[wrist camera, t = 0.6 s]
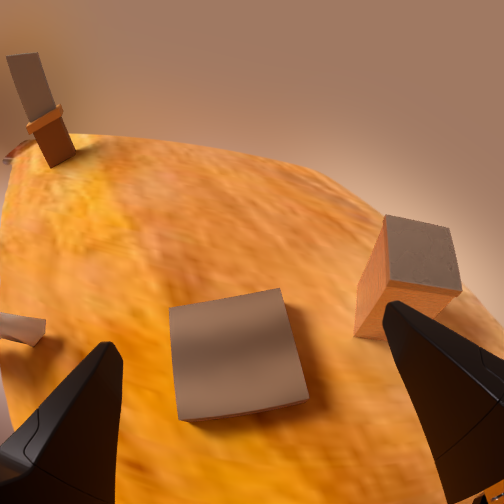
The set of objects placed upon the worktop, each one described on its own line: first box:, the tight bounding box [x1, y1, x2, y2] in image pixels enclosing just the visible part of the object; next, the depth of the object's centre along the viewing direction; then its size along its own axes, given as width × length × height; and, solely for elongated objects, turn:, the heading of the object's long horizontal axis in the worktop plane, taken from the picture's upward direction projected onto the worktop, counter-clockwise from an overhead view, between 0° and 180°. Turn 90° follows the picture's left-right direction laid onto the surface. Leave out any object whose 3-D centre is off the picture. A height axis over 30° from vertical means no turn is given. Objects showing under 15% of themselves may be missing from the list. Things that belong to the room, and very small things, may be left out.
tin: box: [353, 215, 462, 341], centre depth 21 cm, size 6×6×10 cm
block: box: [169, 288, 309, 422], centre depth 22 cm, size 10×10×3 cm
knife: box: [6, 52, 76, 168], centre depth 38 cm, size 8×4×30 cm, turn 118°
